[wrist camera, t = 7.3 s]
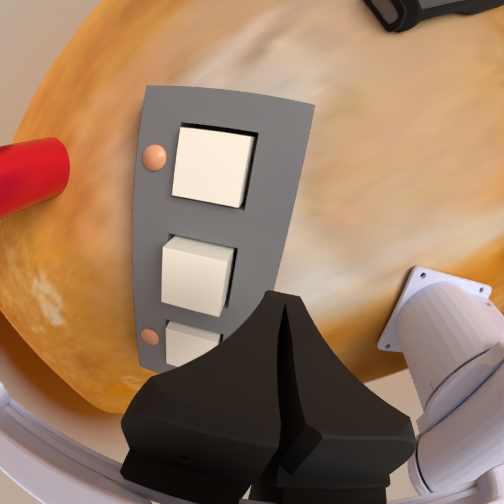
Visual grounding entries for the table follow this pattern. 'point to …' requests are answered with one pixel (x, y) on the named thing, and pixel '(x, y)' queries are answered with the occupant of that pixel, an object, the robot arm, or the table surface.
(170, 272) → the key middle
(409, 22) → the electric trimmer
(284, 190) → the key panel
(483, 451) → the robot arm
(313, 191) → the table surface
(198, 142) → the key
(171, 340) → the key
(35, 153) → the bottle
